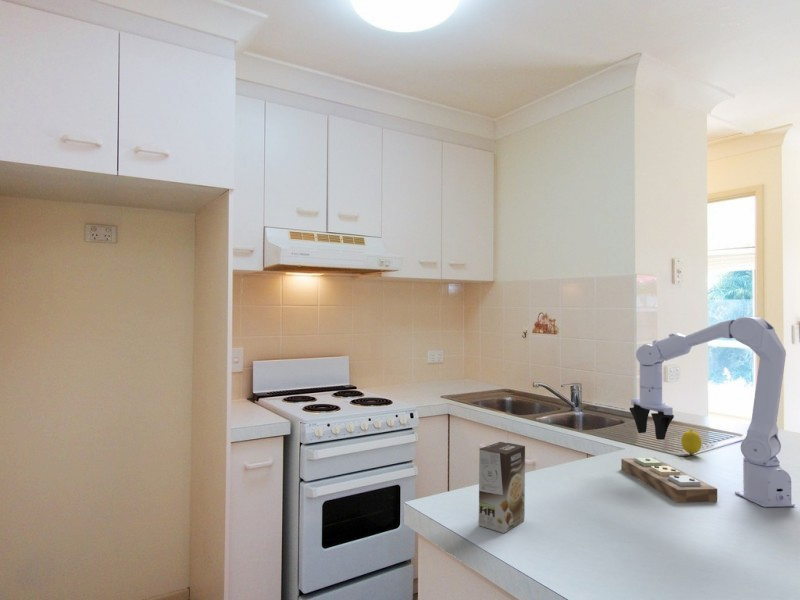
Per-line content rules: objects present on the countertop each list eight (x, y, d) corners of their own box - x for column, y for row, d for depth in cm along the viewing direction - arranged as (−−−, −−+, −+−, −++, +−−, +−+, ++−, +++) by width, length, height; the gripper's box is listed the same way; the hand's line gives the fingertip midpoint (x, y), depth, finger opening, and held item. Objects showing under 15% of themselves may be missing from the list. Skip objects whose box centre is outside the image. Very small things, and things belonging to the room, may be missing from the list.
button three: (680, 482, 133) (679, 470, 133) (661, 482, 133) (661, 471, 133) (668, 476, 138) (668, 465, 138) (650, 476, 138) (650, 465, 138)
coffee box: (505, 534, 104) (505, 454, 104) (477, 525, 108) (478, 448, 108) (525, 520, 111) (525, 445, 111) (499, 512, 115) (499, 440, 115)
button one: (661, 472, 141) (661, 461, 141) (644, 473, 141) (644, 462, 141) (651, 467, 146) (651, 456, 146) (634, 467, 146) (634, 457, 146)
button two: (700, 493, 125) (700, 480, 125) (680, 493, 125) (680, 481, 125) (687, 486, 130) (687, 474, 130) (668, 486, 130) (668, 474, 130)
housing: (717, 501, 123) (717, 488, 123) (677, 502, 122) (677, 489, 122) (654, 468, 149) (654, 458, 149) (621, 469, 148) (621, 458, 148)
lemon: (704, 457, 160) (704, 432, 160) (684, 456, 161) (684, 431, 162) (697, 453, 166) (697, 428, 166) (679, 452, 167) (678, 427, 167)
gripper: (682, 390, 139) (682, 441, 138) (645, 383, 153) (646, 429, 152) (659, 391, 137) (659, 442, 137) (624, 383, 151) (624, 430, 151)
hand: (650, 435), depth 145 cm, fingers open, 7 cm apart
